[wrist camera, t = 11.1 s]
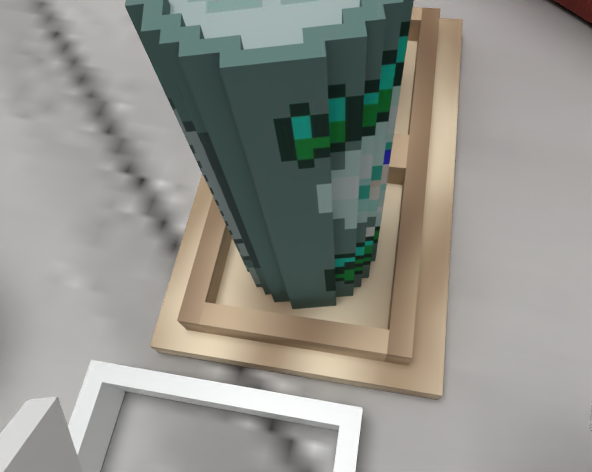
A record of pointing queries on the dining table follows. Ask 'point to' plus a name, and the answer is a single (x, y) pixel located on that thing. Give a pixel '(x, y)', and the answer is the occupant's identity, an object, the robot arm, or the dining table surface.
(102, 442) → the frame
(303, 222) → the can
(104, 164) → the dining table surface
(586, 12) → the plant pot
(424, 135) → the wooden tray
